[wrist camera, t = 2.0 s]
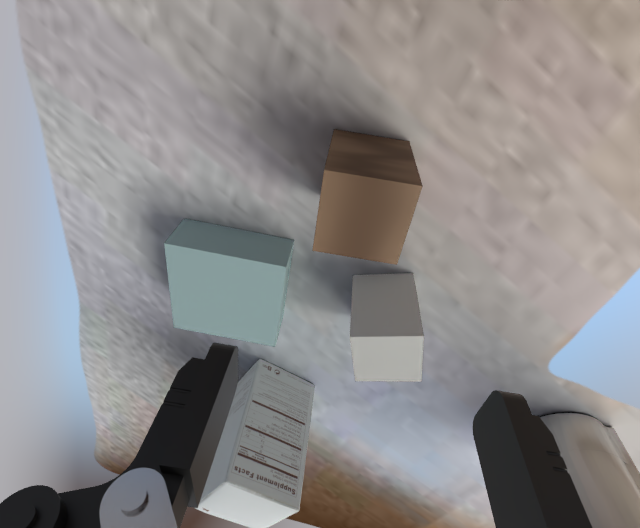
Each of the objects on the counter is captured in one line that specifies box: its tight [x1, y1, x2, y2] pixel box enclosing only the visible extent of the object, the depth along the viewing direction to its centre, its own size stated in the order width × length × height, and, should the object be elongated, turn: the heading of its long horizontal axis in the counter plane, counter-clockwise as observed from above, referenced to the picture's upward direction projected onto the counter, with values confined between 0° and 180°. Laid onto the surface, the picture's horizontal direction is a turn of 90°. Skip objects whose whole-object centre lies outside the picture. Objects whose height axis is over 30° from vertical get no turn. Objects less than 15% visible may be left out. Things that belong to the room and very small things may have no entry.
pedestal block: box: [164, 218, 294, 347], centre depth 31 cm, size 9×9×4 cm
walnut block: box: [313, 129, 422, 265], centre depth 22 cm, size 5×5×7 cm
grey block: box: [350, 273, 424, 382], centre depth 29 cm, size 5×5×7 cm
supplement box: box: [196, 359, 315, 528], centre depth 36 cm, size 7×7×13 cm
